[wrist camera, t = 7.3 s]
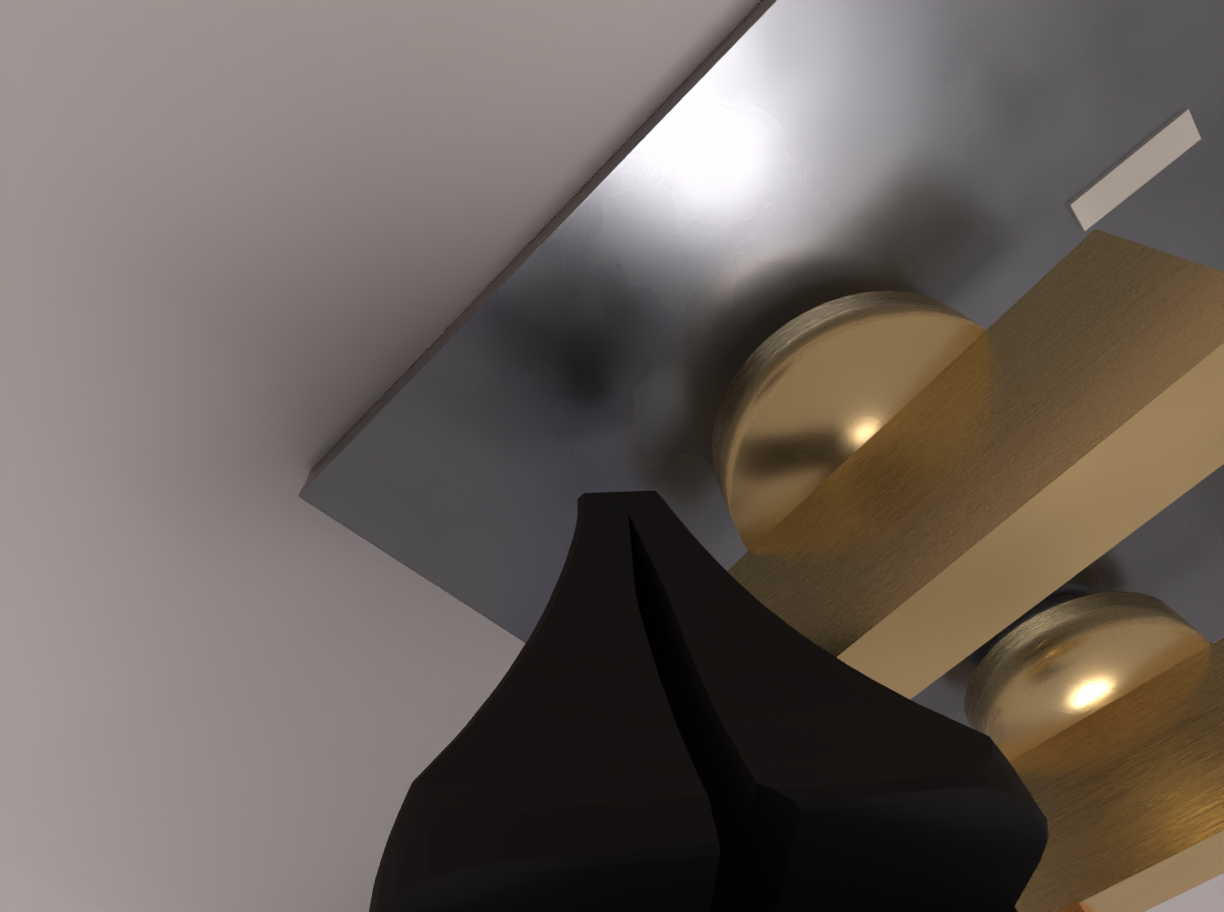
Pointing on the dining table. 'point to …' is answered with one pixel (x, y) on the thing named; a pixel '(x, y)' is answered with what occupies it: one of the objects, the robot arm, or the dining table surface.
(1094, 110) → the plate
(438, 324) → the dining table surface
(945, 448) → the brass lever handle
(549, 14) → the dining table surface
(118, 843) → the dining table surface
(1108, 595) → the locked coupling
